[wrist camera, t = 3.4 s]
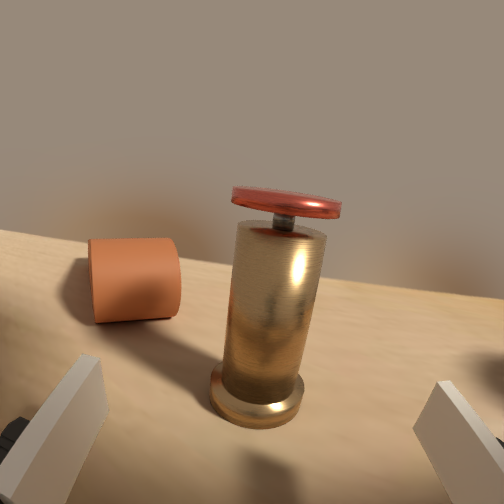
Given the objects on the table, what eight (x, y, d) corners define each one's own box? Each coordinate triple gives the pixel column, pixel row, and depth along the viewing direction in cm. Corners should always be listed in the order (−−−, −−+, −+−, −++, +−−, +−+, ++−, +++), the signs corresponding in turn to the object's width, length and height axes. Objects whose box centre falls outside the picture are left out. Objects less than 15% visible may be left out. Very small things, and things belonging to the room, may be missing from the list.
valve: (294, 374, 24) (329, 197, 20) (305, 431, 17) (362, 209, 14) (214, 367, 23) (232, 183, 20) (204, 423, 17) (224, 189, 14)
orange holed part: (179, 330, 29) (183, 250, 27) (97, 338, 25) (91, 252, 23) (139, 264, 45) (141, 212, 43) (88, 266, 41) (88, 212, 39)
